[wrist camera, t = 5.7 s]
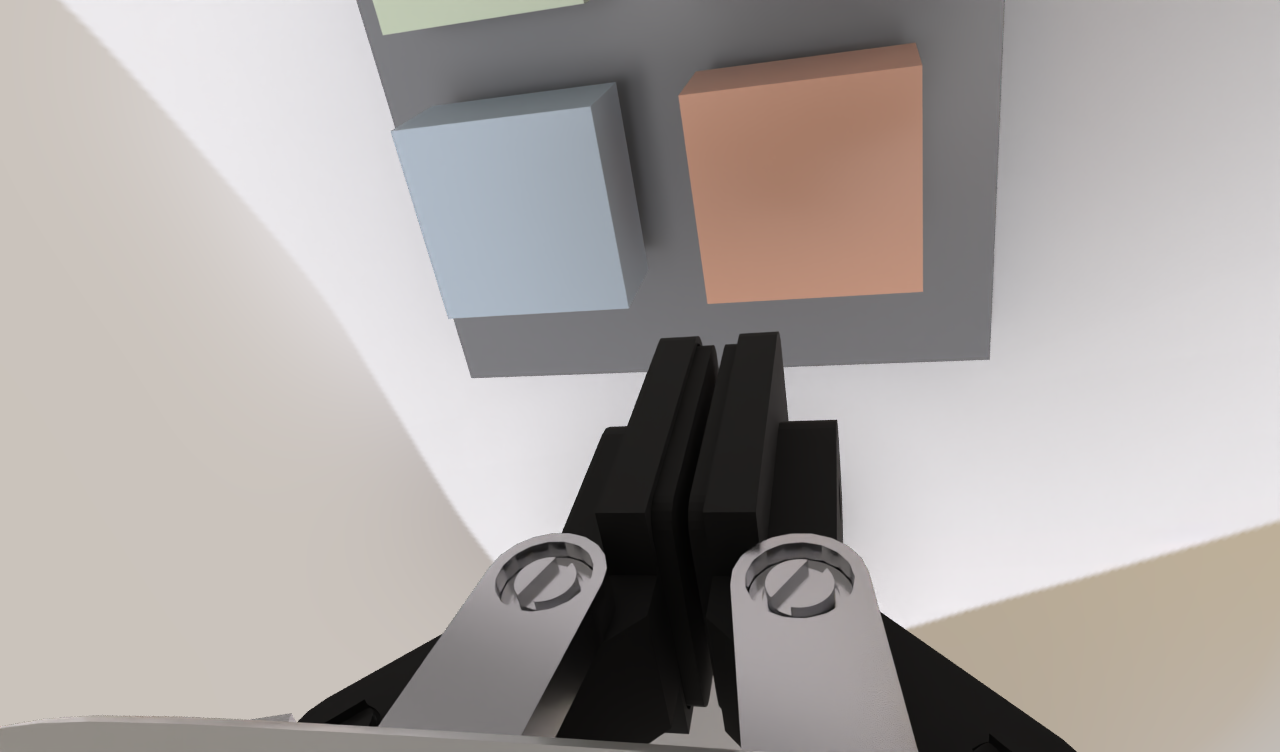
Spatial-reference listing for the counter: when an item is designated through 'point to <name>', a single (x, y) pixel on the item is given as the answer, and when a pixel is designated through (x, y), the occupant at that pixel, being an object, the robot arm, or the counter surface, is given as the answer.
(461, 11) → the key sage
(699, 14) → the keypad board
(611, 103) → the key blue
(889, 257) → the key terracotta
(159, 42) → the counter surface
